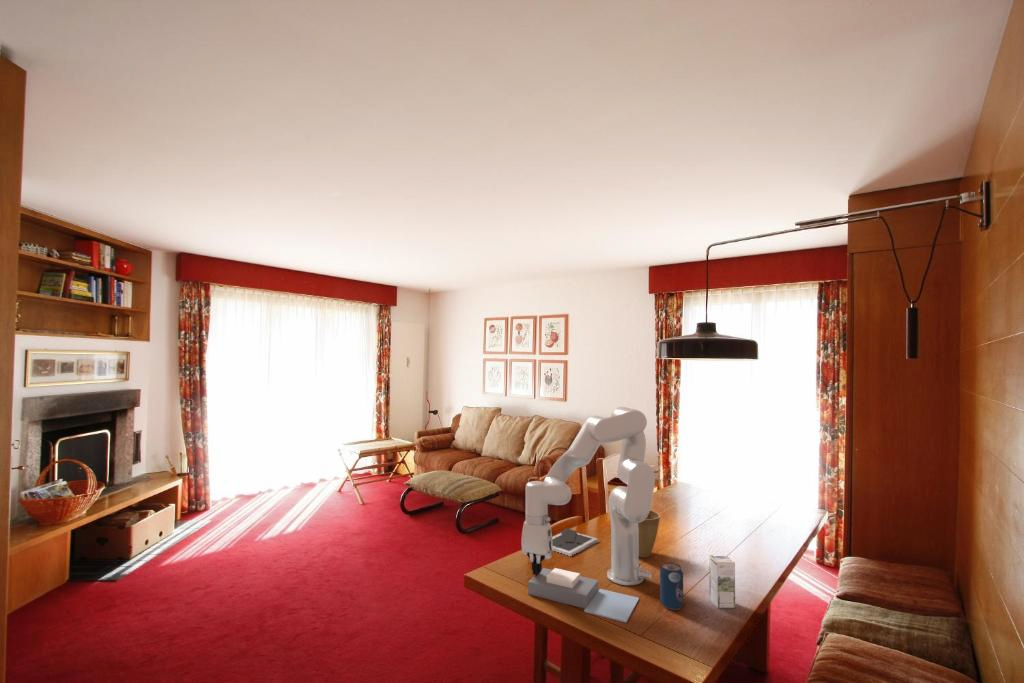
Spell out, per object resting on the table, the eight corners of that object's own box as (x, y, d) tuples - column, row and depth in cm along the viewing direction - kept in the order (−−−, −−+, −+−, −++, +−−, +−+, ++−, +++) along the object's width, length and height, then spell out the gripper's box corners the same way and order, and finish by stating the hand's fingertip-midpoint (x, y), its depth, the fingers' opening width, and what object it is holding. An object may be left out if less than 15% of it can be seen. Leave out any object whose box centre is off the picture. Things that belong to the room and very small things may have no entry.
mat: (639, 599, 153) (639, 597, 153) (626, 622, 139) (626, 621, 139) (600, 590, 159) (600, 588, 159) (583, 611, 145) (583, 610, 145)
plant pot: (657, 564, 179) (657, 521, 180) (618, 557, 186) (617, 516, 186) (662, 550, 193) (662, 510, 194) (625, 544, 199) (625, 506, 200)
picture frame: (567, 534, 213) (538, 548, 197) (567, 528, 213) (538, 541, 197) (597, 543, 202) (570, 558, 187) (597, 536, 202) (570, 551, 187)
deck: (598, 592, 157) (598, 580, 158) (586, 608, 147) (586, 595, 147) (543, 579, 167) (543, 567, 167) (528, 594, 156) (528, 581, 156)
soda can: (683, 612, 145) (682, 572, 145) (659, 608, 147) (658, 568, 148) (683, 602, 151) (683, 563, 152) (661, 598, 154) (660, 560, 154)
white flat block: (579, 579, 158) (579, 573, 158) (572, 588, 152) (572, 581, 152) (554, 573, 162) (554, 568, 162) (546, 582, 156) (546, 576, 156)
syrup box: (726, 599, 153) (725, 553, 153) (736, 609, 147) (735, 561, 147) (709, 600, 152) (708, 554, 153) (718, 609, 146) (717, 561, 147)
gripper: (560, 519, 162) (561, 573, 161) (522, 512, 169) (522, 565, 168) (552, 525, 156) (552, 582, 155) (512, 518, 163) (512, 573, 162)
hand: (536, 573), depth 162 cm, fingers closed
